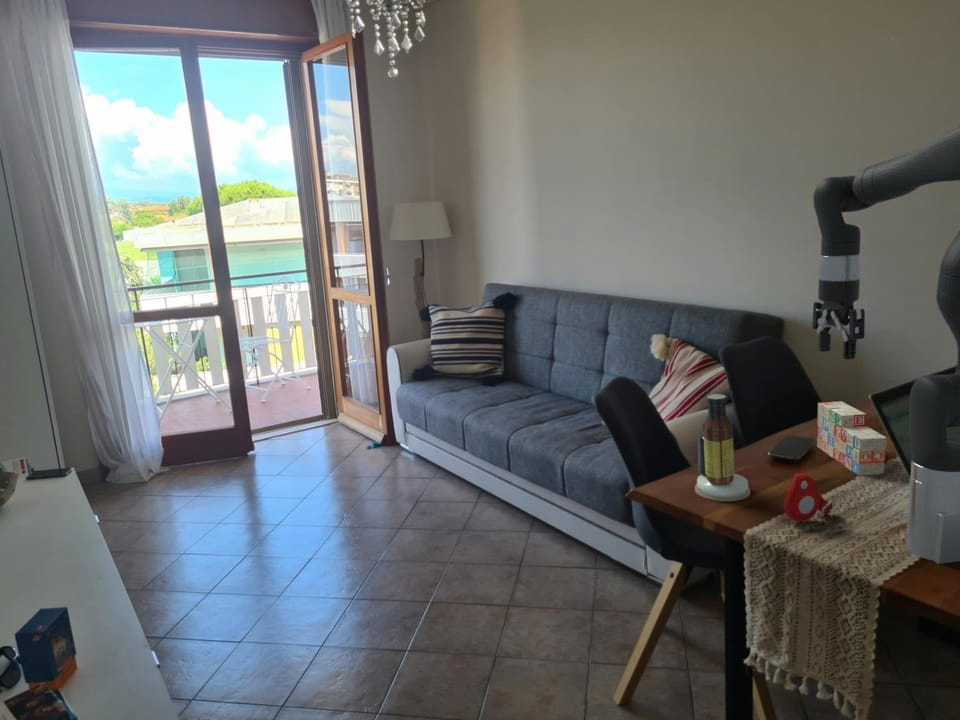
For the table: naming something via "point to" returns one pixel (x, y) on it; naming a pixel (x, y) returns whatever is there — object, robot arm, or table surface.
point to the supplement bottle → (701, 454)
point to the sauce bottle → (718, 442)
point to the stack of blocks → (850, 438)
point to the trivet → (723, 489)
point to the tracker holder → (805, 499)
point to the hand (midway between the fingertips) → (836, 354)
